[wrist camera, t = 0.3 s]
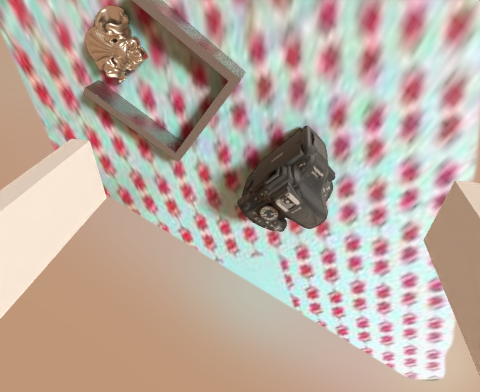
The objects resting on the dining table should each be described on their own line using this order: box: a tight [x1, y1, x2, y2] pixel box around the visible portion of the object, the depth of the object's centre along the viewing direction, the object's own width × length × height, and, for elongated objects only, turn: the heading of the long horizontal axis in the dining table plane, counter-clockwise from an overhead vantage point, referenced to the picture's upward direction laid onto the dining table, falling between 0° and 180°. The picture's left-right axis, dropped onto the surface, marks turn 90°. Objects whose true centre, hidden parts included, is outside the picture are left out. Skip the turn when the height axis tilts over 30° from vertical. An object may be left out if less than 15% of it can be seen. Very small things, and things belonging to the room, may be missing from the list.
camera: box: [238, 126, 335, 232], centre depth 38 cm, size 13×10×10 cm
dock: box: [83, 0, 246, 162], centre depth 37 cm, size 14×14×3 cm
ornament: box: [85, 5, 148, 83], centre depth 35 cm, size 8×7×4 cm
